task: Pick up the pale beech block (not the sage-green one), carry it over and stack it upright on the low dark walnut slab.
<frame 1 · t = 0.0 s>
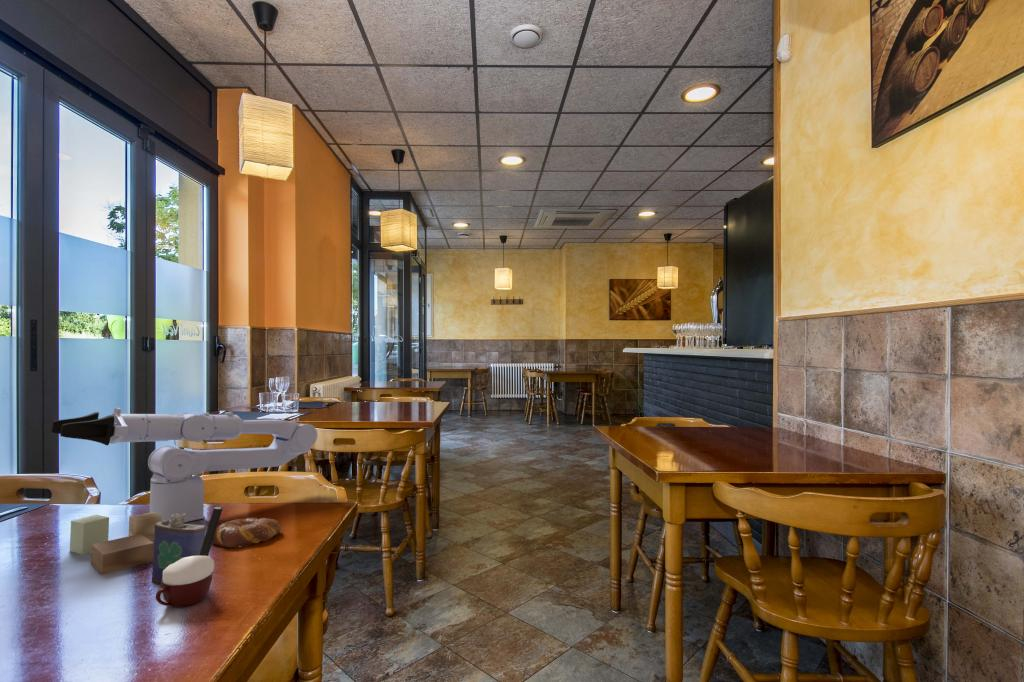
hand: (56, 428, 94), 22 cm above the table, tool horizontal, fingers open, 7 cm apart
flask: (176, 584, 79), on the table
walnut slab: (122, 564, 86), on the table
cocoa: (188, 602, 73), on the table
pretzel: (247, 540, 99), on the table
sage block: (89, 549, 92), on the table
beech block: (144, 545, 94), on the table
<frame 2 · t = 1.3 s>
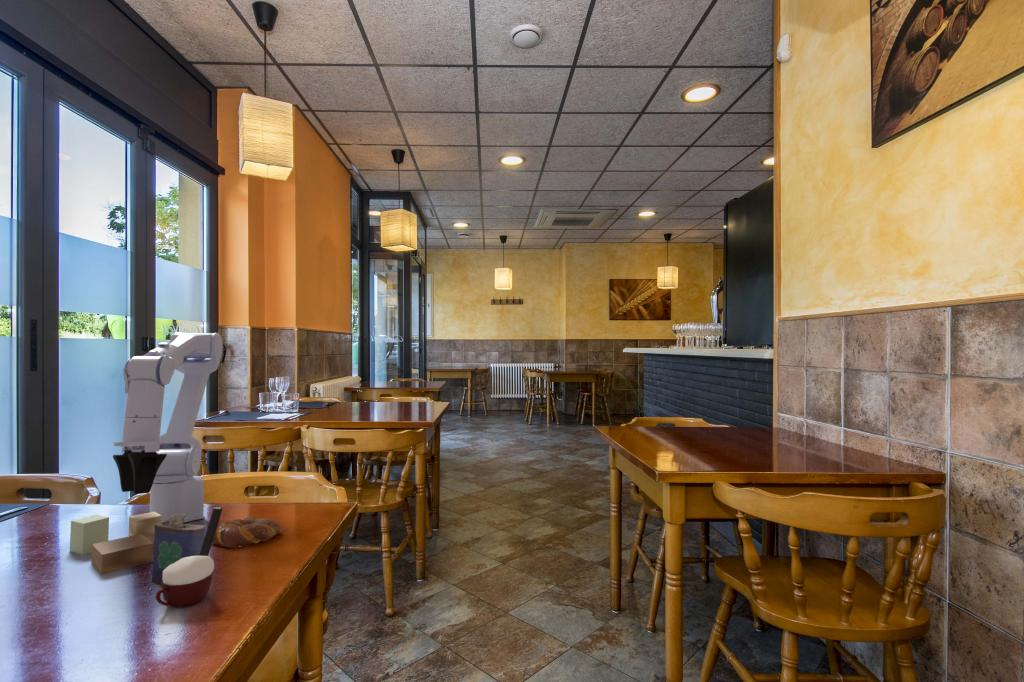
hand: (135, 492, 94), 10 cm above the table, tool pointing down, fingers open, 7 cm apart
nothing on the table moved.
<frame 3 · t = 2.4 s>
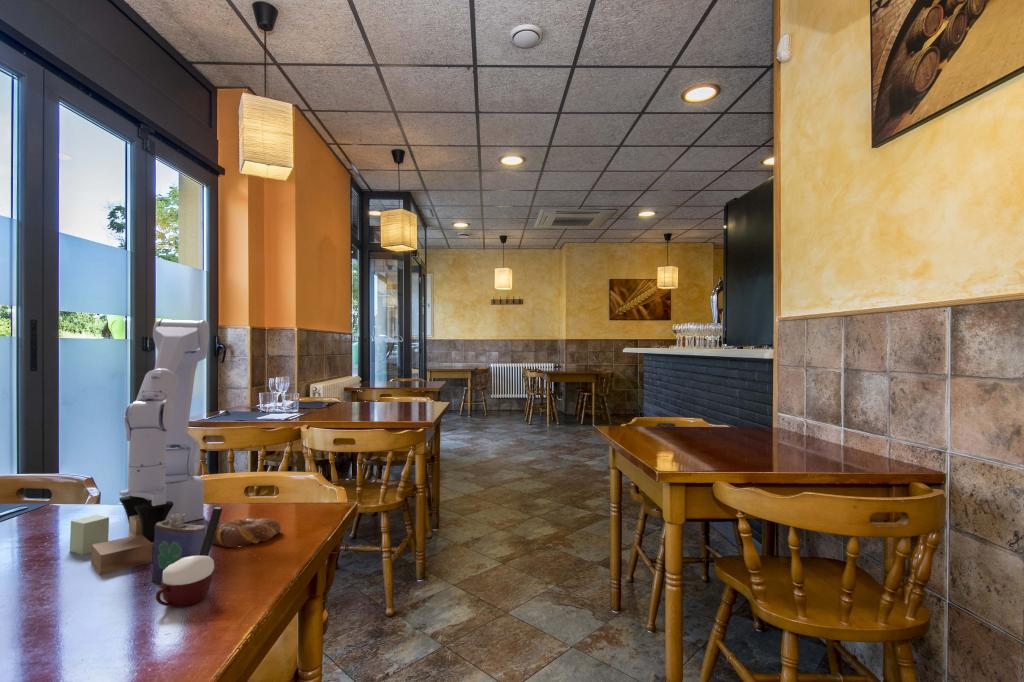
hand: (144, 537, 94), 1 cm above the table, tool pointing down, fingers open, 7 cm apart
nothing on the table moved.
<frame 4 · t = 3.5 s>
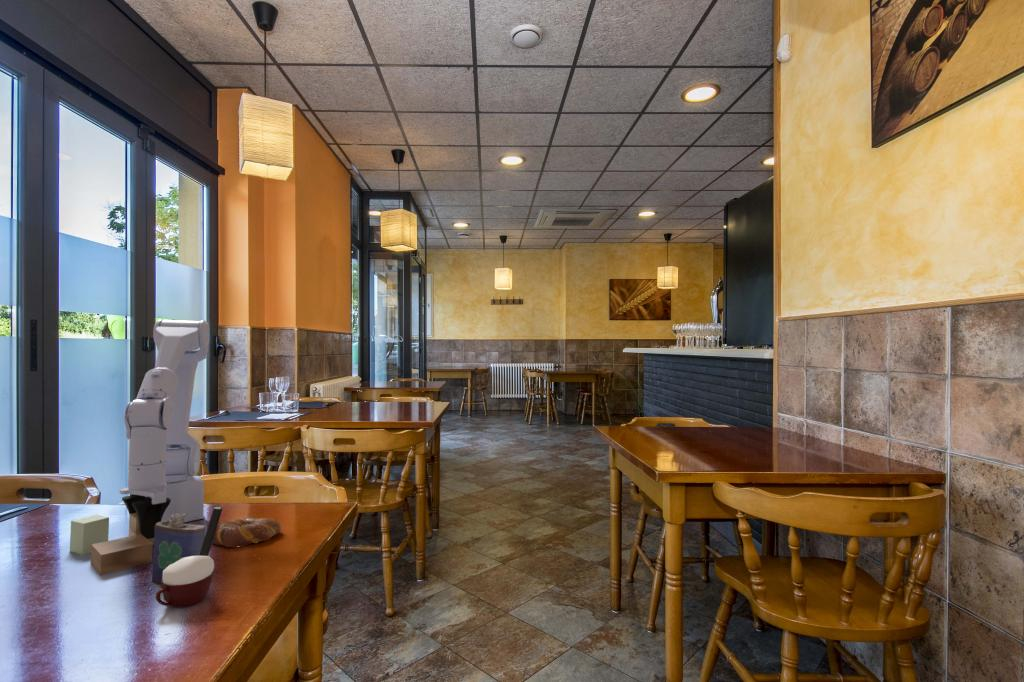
hand: (144, 535, 95), 2 cm above the table, tool pointing down, fingers closed on beech block, 4 cm apart
beech block: (144, 543, 95), on the table, touching gripper
everything else where it was.
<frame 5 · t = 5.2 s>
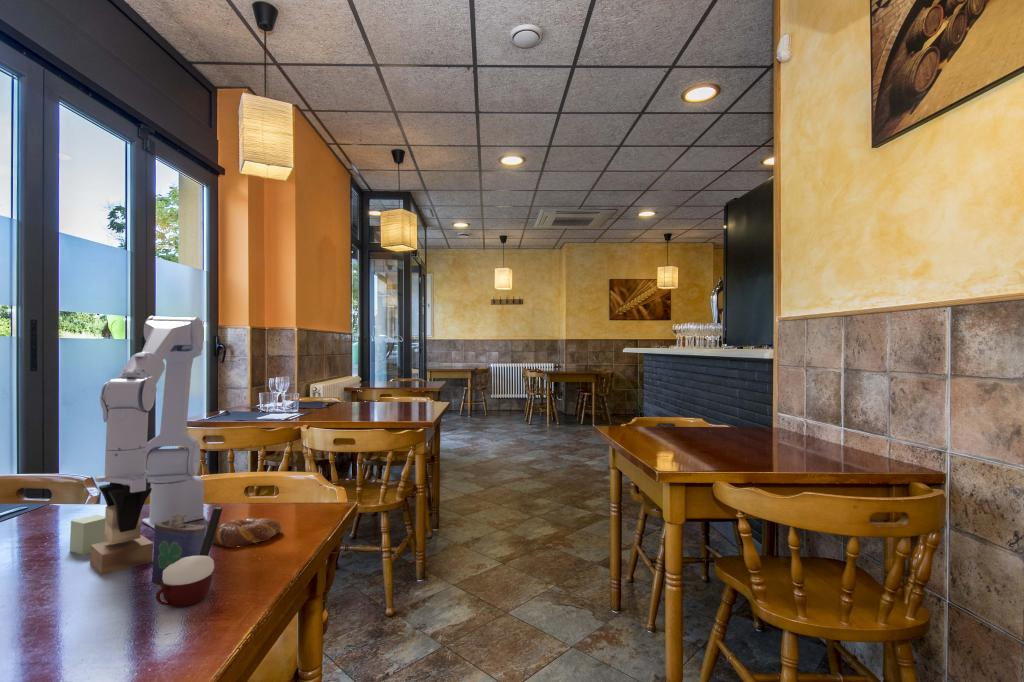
hand: (123, 527, 87), 6 cm above the table, tool pointing down, fingers closed on beech block, 4 cm apart
beech block: (122, 538, 87), point 4 cm above the table, touching gripper
everything else where it was.
when the fingers open (6 cm above the table, at t = 5.2 s): beech block stays where it is, resting on walnut slab.
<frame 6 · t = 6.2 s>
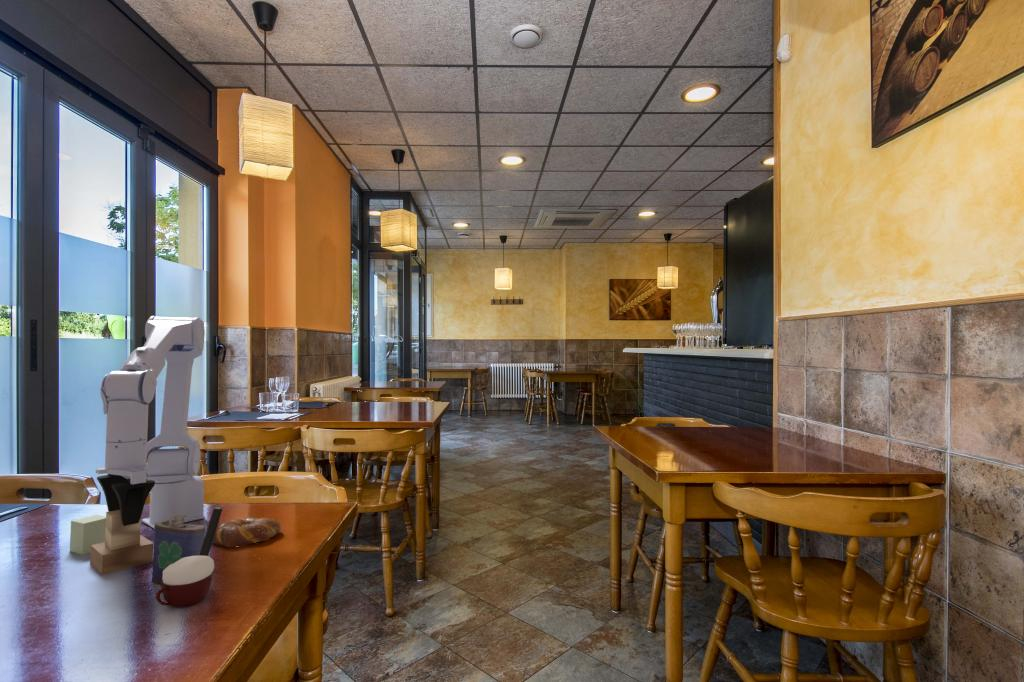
hand: (124, 519, 87), 7 cm above the table, tool pointing down, fingers open, 7 cm apart
walnut slab: (121, 564, 86), on the table, touching beech block
beech block: (122, 544, 86), point 3 cm above the table, touching walnut slab
everything else where it was.
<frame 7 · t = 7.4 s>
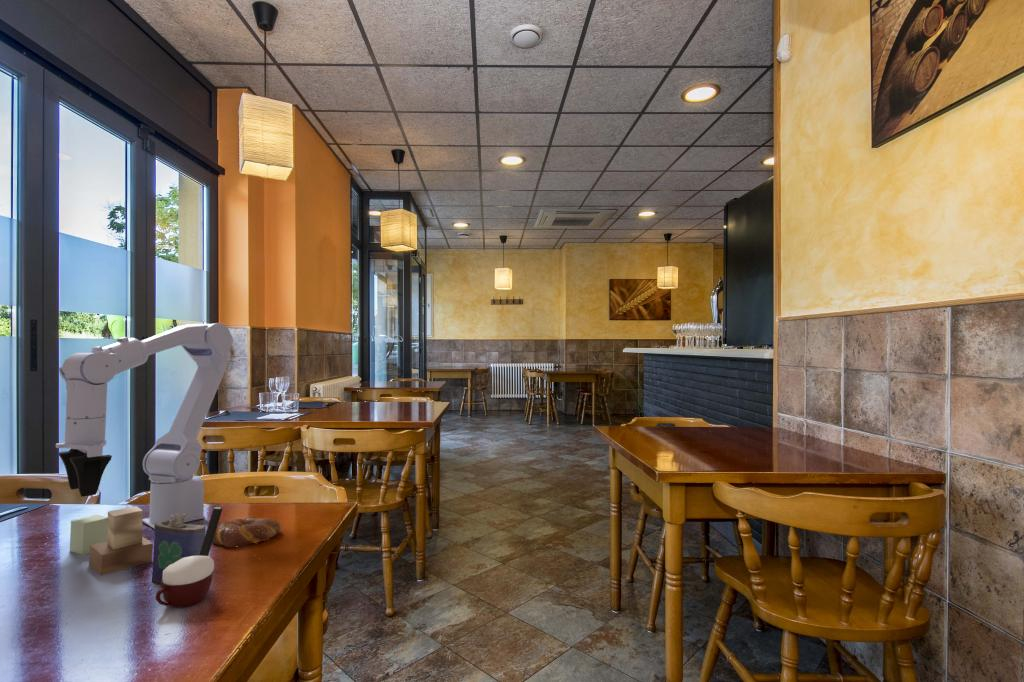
hand: (83, 491, 93), 10 cm above the table, tool pointing down, fingers open, 7 cm apart
nothing on the table moved.
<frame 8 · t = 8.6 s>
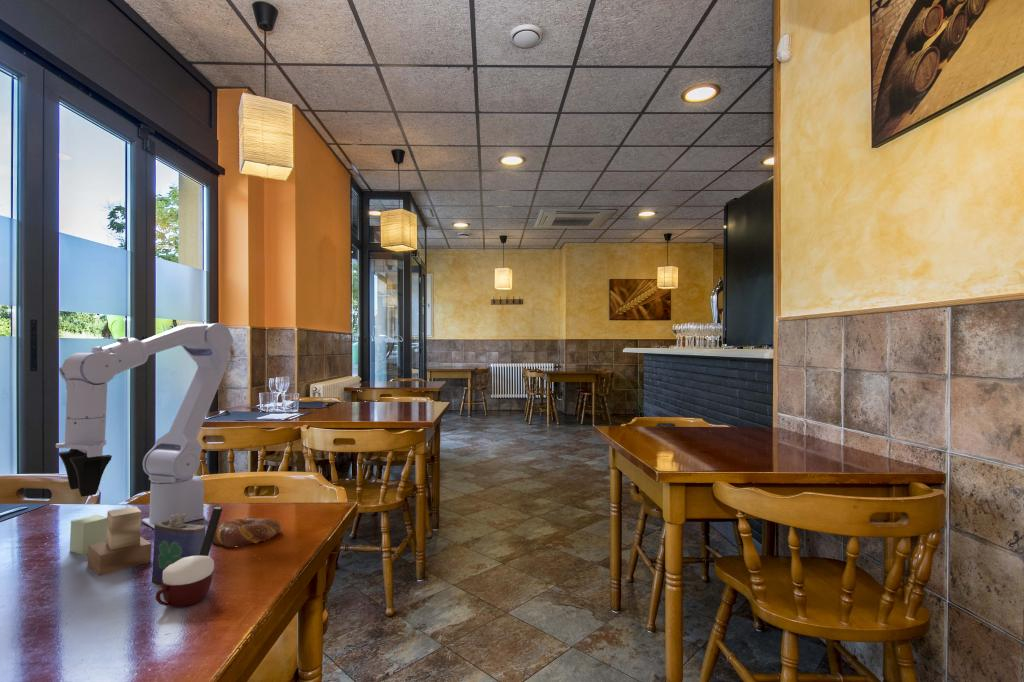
hand: (83, 491, 93), 10 cm above the table, tool pointing down, fingers open, 7 cm apart
walnut slab: (119, 565, 86), on the table
beech block: (123, 543, 87), point 3 cm above the table
everything else where it was.
at the end: beech block 0.4 cm off-centre on the walnut slab, point 3.6 cm above the walnut slab's base; beech block tilted 1°; the gripper is holding nothing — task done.
